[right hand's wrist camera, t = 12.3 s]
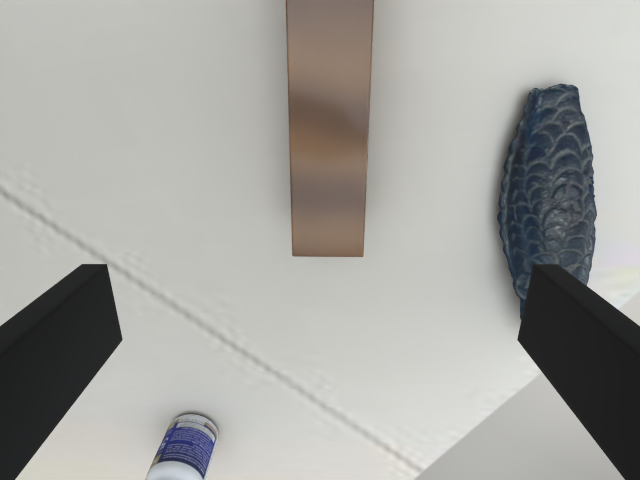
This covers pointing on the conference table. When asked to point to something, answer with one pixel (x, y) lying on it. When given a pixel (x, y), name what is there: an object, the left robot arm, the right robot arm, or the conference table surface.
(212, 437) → the pill bottle
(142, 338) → the conference table surface
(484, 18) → the conference table surface
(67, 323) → the right robot arm
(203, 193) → the conference table surface
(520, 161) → the fish model
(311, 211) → the post
